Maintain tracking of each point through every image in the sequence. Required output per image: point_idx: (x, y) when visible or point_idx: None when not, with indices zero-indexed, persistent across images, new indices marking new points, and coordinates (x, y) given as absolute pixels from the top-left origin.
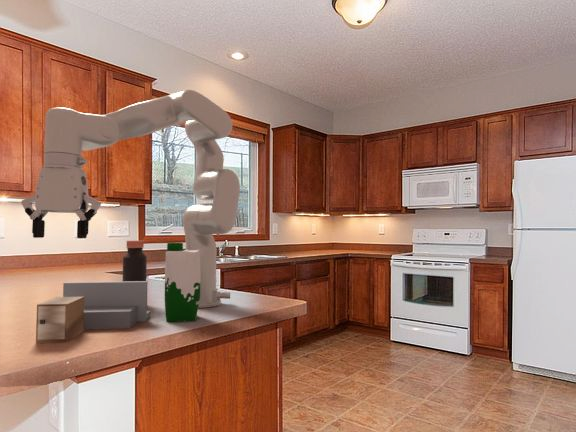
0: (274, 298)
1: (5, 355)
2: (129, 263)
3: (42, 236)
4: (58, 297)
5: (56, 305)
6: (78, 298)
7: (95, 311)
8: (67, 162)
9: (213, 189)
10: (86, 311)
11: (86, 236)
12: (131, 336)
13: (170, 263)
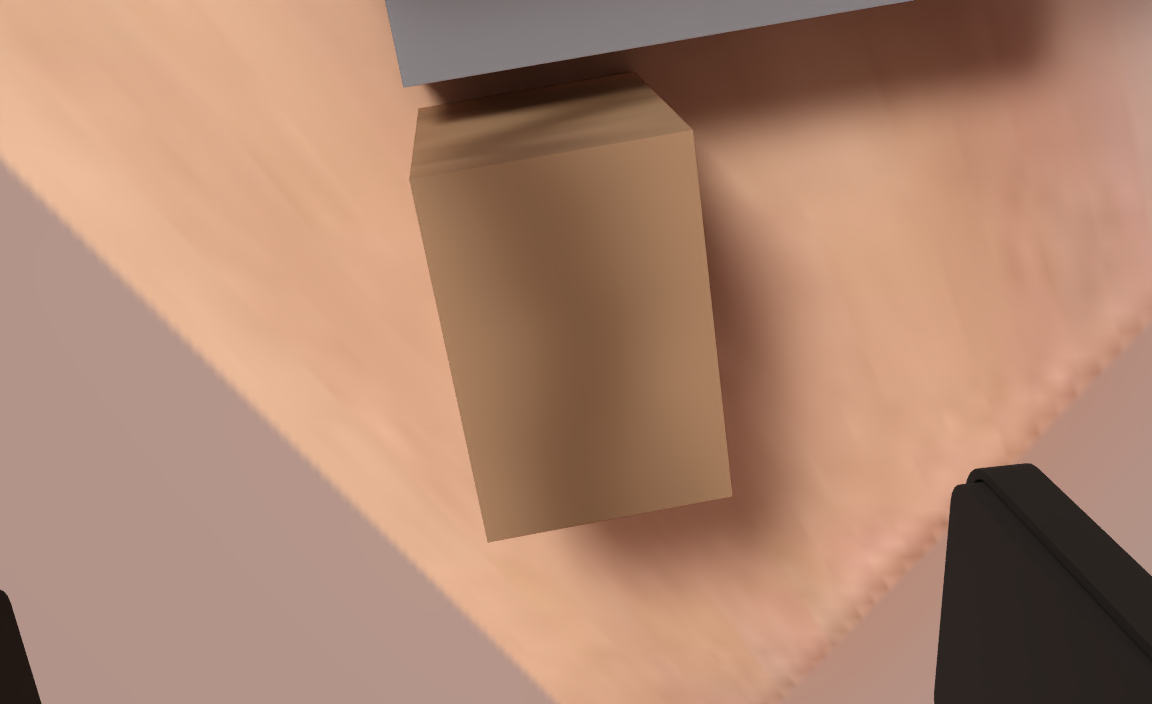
0: None
1: (475, 616)
2: None
3: (17, 648)
4: (448, 206)
5: (641, 506)
6: (689, 244)
7: (729, 3)
8: None
9: None
10: (642, 10)
11: (1035, 474)
12: (1056, 204)
13: None
